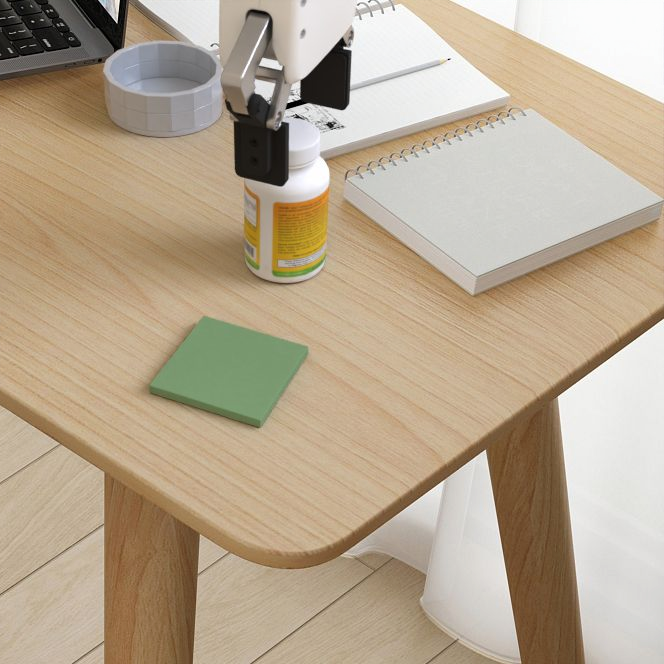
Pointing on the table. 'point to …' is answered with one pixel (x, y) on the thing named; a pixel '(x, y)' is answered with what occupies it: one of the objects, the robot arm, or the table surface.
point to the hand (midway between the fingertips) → (294, 140)
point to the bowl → (163, 88)
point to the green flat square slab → (230, 371)
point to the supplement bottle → (289, 213)
